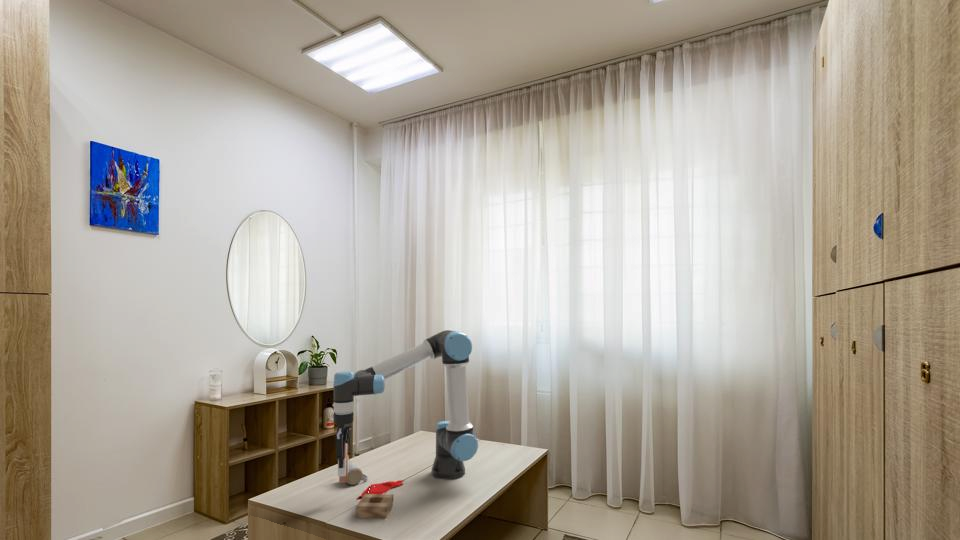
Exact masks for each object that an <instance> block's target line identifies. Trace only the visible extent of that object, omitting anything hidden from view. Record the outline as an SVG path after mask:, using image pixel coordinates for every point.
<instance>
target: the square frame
mask: <svg viewBox="0 0 960 540" xmlns="http://www.w3.org/2000/svg"><path fill="white" fill-rule="evenodd" d="M394 498H395V497H394V494H392V493H390V494H389V493H388V494H387V493H384V494H364V496H363V497H361V499H360V500H359V502H358V503H357V505H356V510H355V512H356V513H355V514H356V515H355V518H361V519H362V518H365V519H387V518H388V517H389V515H390V512H391V511H392V509H393V507H394Z"/></svg>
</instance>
